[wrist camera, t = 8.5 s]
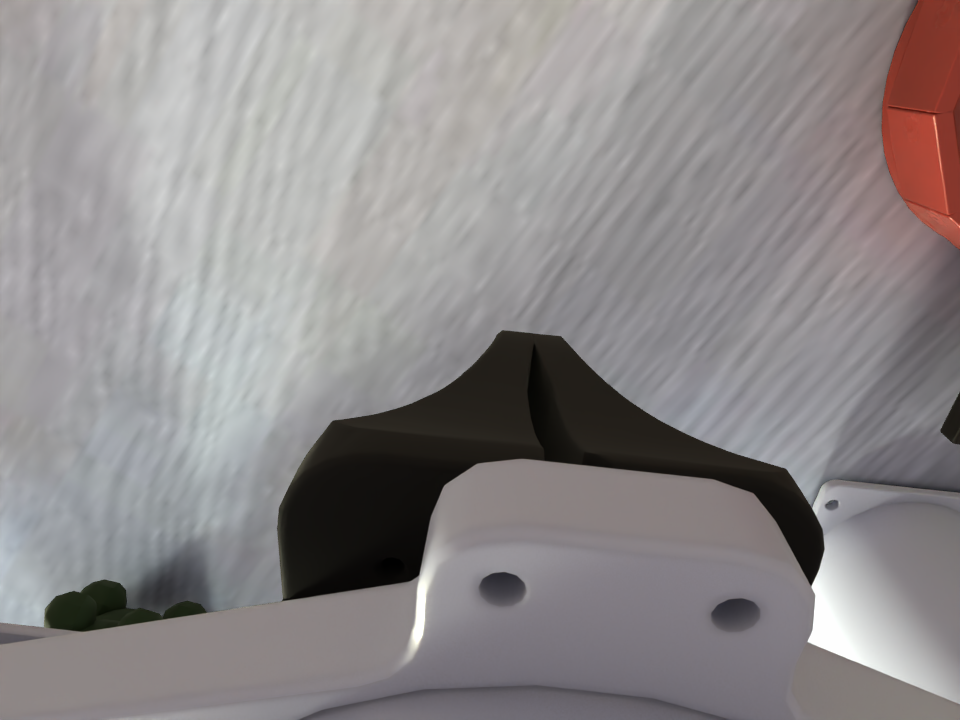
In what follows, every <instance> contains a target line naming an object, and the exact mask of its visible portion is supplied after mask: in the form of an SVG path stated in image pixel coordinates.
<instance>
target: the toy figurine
mask: <svg viewBox="0 0 960 720" xmlns="http://www.w3.org/2000/svg"><path fill="white" fill-rule="evenodd" d="M126 604H127V597H126V590H125V589H124V588H123V586H122V585H121V584H120V583H117V582H112V581H108V580H101V581H97V582H93V583H91V584H90V585H88V586H86V587H85V588H84V589H83V590H82V591H81V592H80V593H79V592H75V591H72V592H69V593H65V594H62V595H59V596H56V597H55V598H54V599H53V600H52V601H51V603H50V604H49V605H48V606H47V607H46V608H45V617H44V628H52V629H61V630H70V631H79V632H87V631H93V630H100V629H106V628H113V627H119V626H125V625H132V624H138V623H145V622H151V621H158V620H164V619H171V618H177V617H184V616H190V615H197V614H203V613H207V612H206V611H205V609H204V608H203V607H202V606H201V604H197V603H193V602H190V601H185V602H181V603H177V604H176V605H174V606H172V607H171V608H169V609H167V610H166V611H165V613H164V615H163V617H162V616H161V615H160V614H159V613H156V612H153V611H149V610H145V609H141V608H138V609H128V608H126Z"/></svg>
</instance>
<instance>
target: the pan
mask: <svg viewBox="0 0 960 720" xmlns="http://www.w3.org/2000/svg"><path fill="white" fill-rule="evenodd" d="M882 136H883V146H884V153H885V157H886V161H887V165H888V169H889V172H890V175H891V177H892V179H893V182H894V184H895V186H896V188H897V191H898V192H899V194H900V195H901V197H902V198H903V200H904V201H905V203H906V204H907V206H908V207H909V209H910V210H911V211H912V212H913V213H914V214H915V215H916V216H917V217H918V218H919V219H920V220H921V221H922V222H923V223H924V224H926V225H927V226H928V227H930V228H931V229H932V230H934V231H935V232H936V233H938V234H940V235H942V236H944V237H945V238H946V239H948V240H949V241H950V242H951V243H952V244H953V245H954V246H956V247H957V248H958V249H959V250H960V0H919V1H918V3H917V4H916V6H915V8H914V10H913V12H912V14H911V16H910V17H909V19H908V21H907V23H906V25H905V28H904V30H903V32H902V35H901V37H900V40H899V42H898V45H897V47H896V49H895V52H894V56H893V59H892V62H891V66H890V69H889V73H888V76H887V81H886V87H885V93H884V99H883V107H882ZM940 432H941V433H942V434H943V435H944V436H945V437H946V438H947V439H949V440H950V441H951V442H952V443H954V444H960V392H959V394H958V396H957V398H956V400H955V402H954V404H953V406H952V408H951V410H950V412H949V414H948V416H947V418H946V420H945V422H944V424H943V426H942V428H941V430H940Z"/></svg>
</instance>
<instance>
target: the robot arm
mask: <svg viewBox="0 0 960 720" xmlns="http://www.w3.org/2000/svg"><path fill="white" fill-rule="evenodd" d="M831 500H834V501H833V502H832V503H829V504H827V502H829V501H831ZM277 531H278V544H279V556H280V569H281V581H282V593H283V600H282V601H281V602H275V603H268V604H262V605H255V606H249V607H242V608H236V609H229V610H223V611H216V612H210V613H203V614H197V615H190V616H184V617H177V618H171V619H164V620H158V621H151V622H145V623H138V624H132V625H125V626H119V627H113V628H106V629H100V630H93V631H87V632H79V631H70V630H61V629H52V628H43V627H34V626H26V625H17V624H8V623H0V720H960V493H957V492H947V491H938V490H929V489H919V488H910V487H901V486H891V485H882V484H873V483H863V482H854V481H845V480H831V481H828V482H826V483H825V484H823V485H822V487H821V488H820V491H819V493H818V496H817V498H816V500H815V503H814V505H813V507H812V508H811V506H810V504H809V503H808V501H807V500H806V498H805V496H804V495H803V493H802V492H801V490H800V489H799V487H798V486H797V484H796V483H795V481H794V479H793V478H792V476H791V475H790V474H789V472H788V471H787V470H786V469H785V468H781V467H778V466H774V465H771V464H768V463H764V462H761V461H757V460H754V459H751V458H747V457H744V456H740V455H737V454H734V453H731V452H728V451H726V450H723V449H721V448H718V447H715V446H713V445H710V444H708V443H705V442H703V441H700V440H698V439H696V438H694V437H691V436H689V435H687V434H685V433H683V432H681V431H679V430H677V429H675V428H673V427H671V426H669V425H667V424H665V423H663V422H661V421H660V420H658V419H656V418H655V417H653V416H651V415H650V414H648V413H646V412H645V411H643V410H642V409H640V408H639V407H637V406H636V405H634V404H633V403H631V402H630V401H629V400H627V399H626V398H625V397H623V396H622V395H621V394H619V393H618V392H617V391H616V390H615V389H613V388H612V387H611V386H610V385H609V384H607V383H606V382H605V381H604V380H603V379H602V378H601V377H600V376H599V375H597V374H596V373H595V372H594V371H593V370H592V369H591V368H590V367H589V366H588V365H587V364H586V363H585V362H584V361H583V360H582V359H581V357H580V356H579V355H578V354H577V353H576V352H575V351H574V350H573V349H572V348H571V347H570V345H569V344H568V343H567V342H566V341H565V340H564V339H563V338H562V337H561V336H552V335H543V334H533V333H524V332H514V331H504V330H502V331H501V332H500V333H498V334H497V335H496V338H495V339H494V341H493V343H492V344H491V345H490V346H489V348H488V349H487V350H486V351H485V353H484V354H483V355H482V356H481V357H480V358H479V359H478V360H477V361H476V362H475V363H474V364H473V365H472V366H471V367H470V368H469V369H468V370H467V371H465V372H464V373H463V374H462V375H461V376H460V377H459V378H457V379H456V380H455V381H453V382H452V383H451V384H449V385H448V386H446V387H445V388H443V389H441V390H440V391H438V392H436V393H434V394H432V395H429V396H427V397H425V398H423V399H420V400H418V401H416V402H414V403H412V404H409V405H406V406H403V407H400V408H397V409H394V410H390V411H386V412H382V413H378V414H374V415H369V416H362V417H356V418H349V419H343V420H334V421H332V422H331V423H330V425H329V426H328V427H327V429H326V430H325V431H324V433H323V434H322V435H321V436H320V438H319V439H318V440H317V441H316V443H315V444H314V445H313V447H312V448H311V449H310V451H309V452H308V454H307V455H306V457H305V458H304V460H303V462H302V463H301V465H300V467H299V468H298V470H297V472H296V474H295V476H294V478H293V480H292V482H291V484H290V486H289V488H288V490H287V492H286V494H285V496H284V498H283V501H282V503H281V505H280V507H279V515H278V526H277Z"/></svg>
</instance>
